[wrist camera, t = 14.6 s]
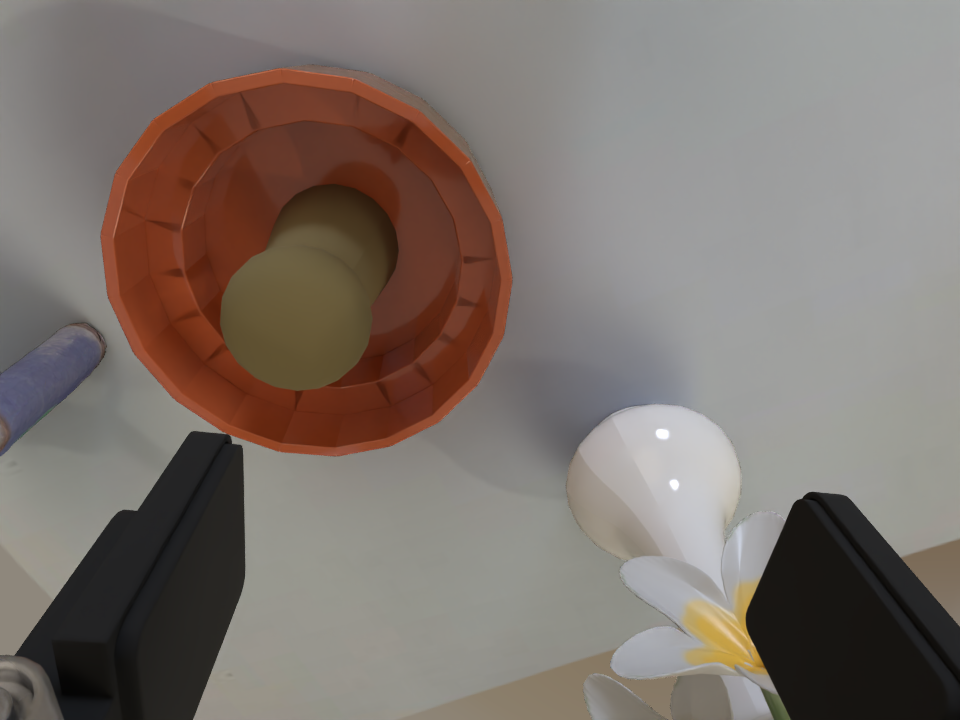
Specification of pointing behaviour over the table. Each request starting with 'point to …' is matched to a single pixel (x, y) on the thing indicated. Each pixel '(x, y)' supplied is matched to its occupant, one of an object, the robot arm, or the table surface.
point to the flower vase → (677, 562)
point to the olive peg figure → (311, 289)
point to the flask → (46, 379)
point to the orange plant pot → (246, 230)
